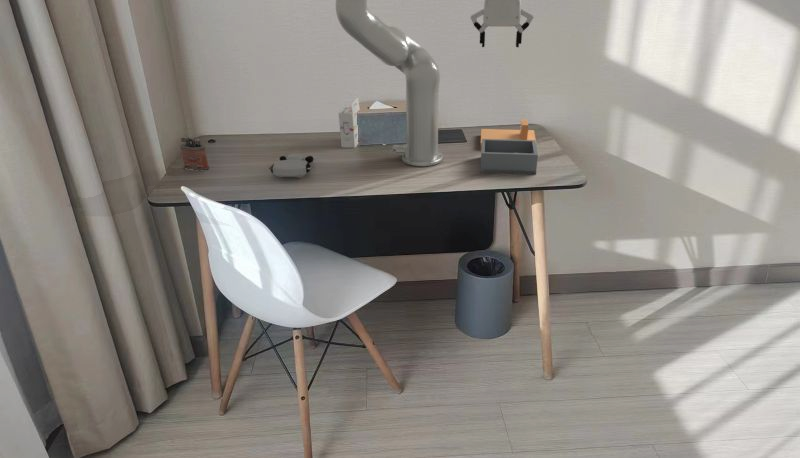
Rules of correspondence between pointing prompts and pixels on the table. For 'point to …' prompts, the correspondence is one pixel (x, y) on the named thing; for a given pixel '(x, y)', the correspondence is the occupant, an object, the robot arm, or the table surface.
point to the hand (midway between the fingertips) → (500, 46)
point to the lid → (509, 133)
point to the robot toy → (292, 166)
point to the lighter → (194, 154)
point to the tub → (508, 156)
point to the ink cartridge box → (349, 125)
